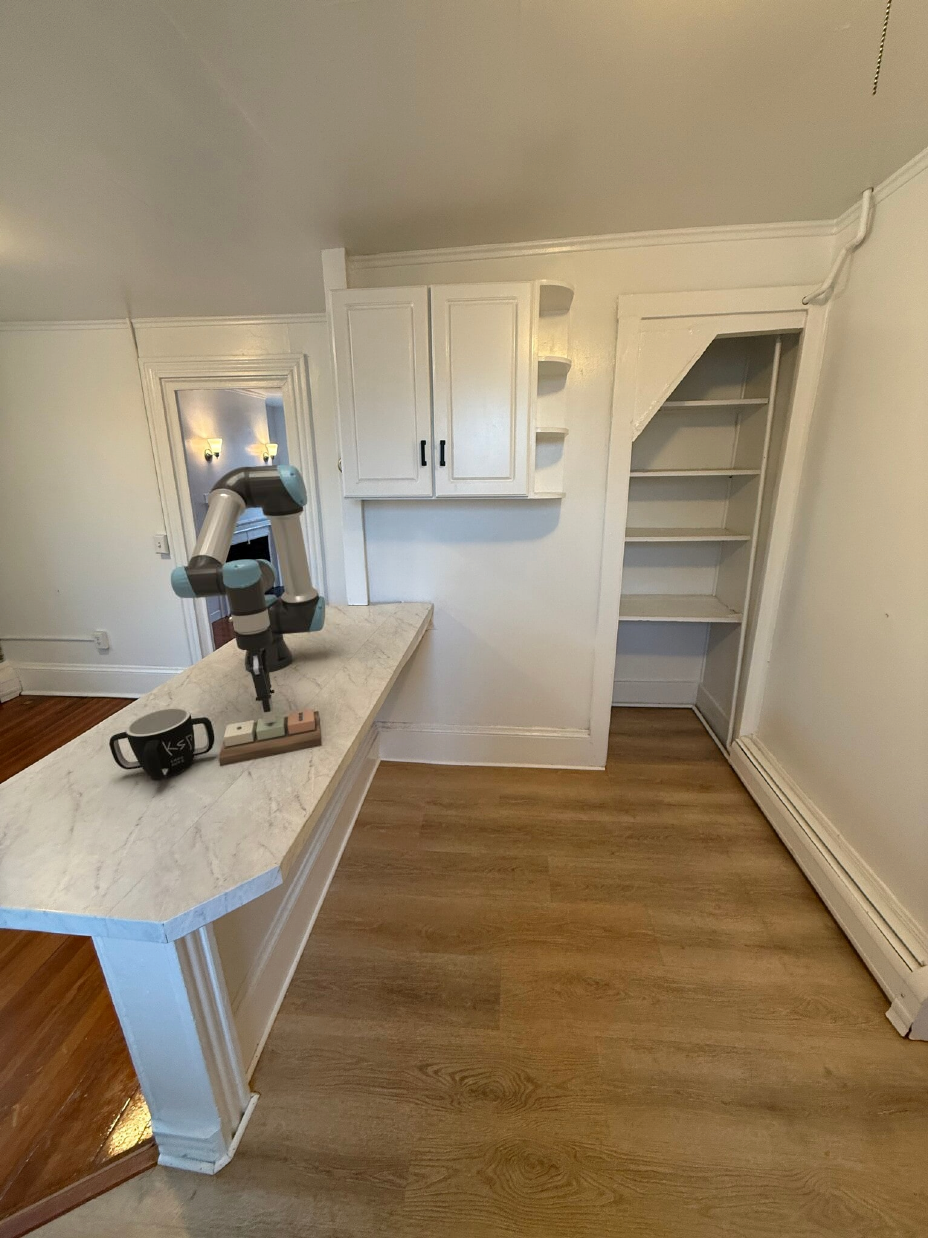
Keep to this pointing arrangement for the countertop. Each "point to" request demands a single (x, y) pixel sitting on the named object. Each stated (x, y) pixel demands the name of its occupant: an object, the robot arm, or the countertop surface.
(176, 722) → the mug
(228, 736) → the key
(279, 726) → the key
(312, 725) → the key
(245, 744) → the board
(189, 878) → the countertop surface
